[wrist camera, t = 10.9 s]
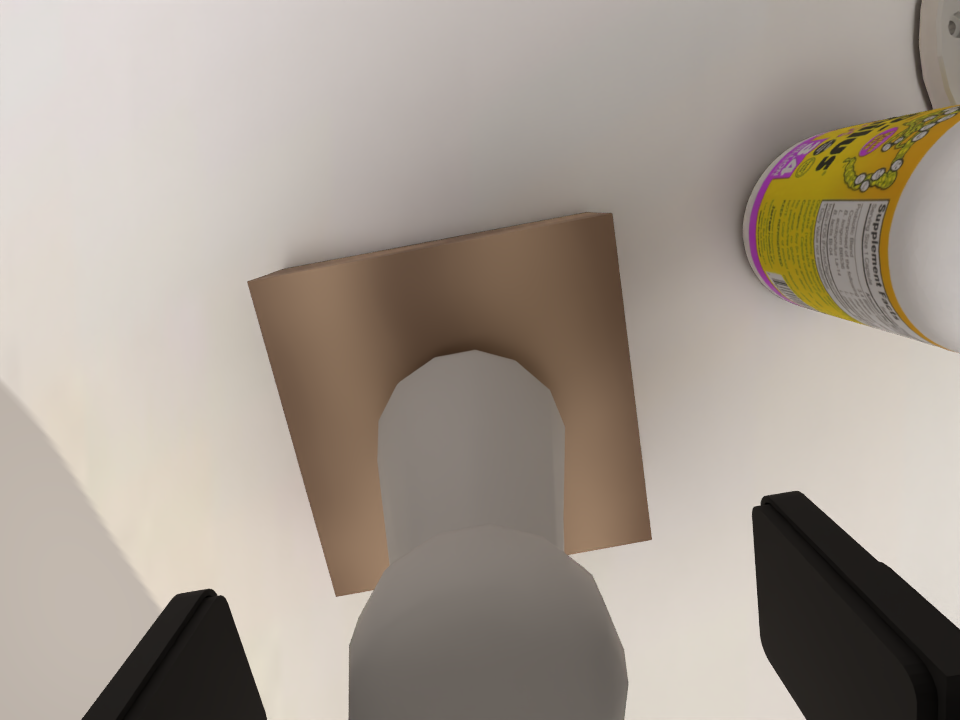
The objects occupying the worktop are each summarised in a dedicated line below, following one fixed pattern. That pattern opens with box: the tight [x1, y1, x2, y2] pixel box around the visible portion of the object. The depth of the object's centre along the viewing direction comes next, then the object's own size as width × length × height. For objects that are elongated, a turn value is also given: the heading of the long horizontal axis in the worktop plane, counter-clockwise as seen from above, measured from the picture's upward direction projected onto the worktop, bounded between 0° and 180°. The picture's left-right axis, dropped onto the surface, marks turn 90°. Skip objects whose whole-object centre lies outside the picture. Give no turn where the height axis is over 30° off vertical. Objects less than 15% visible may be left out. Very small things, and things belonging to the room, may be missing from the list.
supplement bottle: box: [743, 105, 960, 353], centre depth 17 cm, size 7×7×13 cm
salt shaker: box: [349, 350, 628, 720], centre depth 14 cm, size 6×6×13 cm
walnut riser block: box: [248, 212, 652, 597], centre depth 23 cm, size 12×12×4 cm
